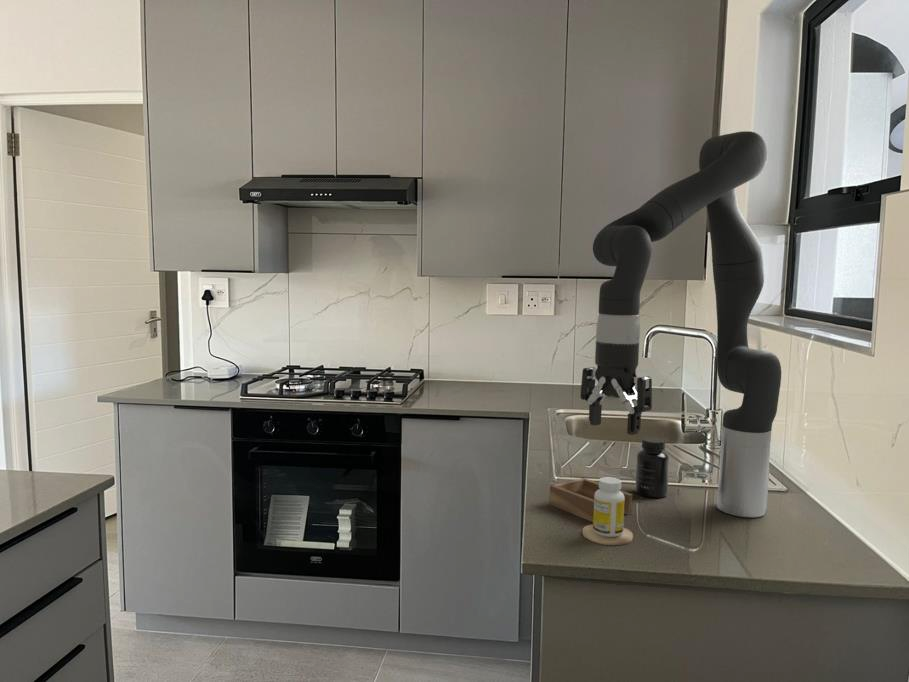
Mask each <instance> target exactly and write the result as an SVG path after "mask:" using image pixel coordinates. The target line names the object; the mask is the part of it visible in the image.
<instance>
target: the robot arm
mask: <svg viewBox="0 0 909 682" xmlns="http://www.w3.org/2000/svg"><path fill="white" fill-rule="evenodd" d="M768 149H769V148H768V145H767V143H766V141H765V139H764V138H763V136H762V135H760V134H759V133H757V132H755V131H749V130H748V131H745V130H744V131H737V132H731V133H728V134H727V133H726V134H723V135H717V136H713V137H710V138H708V139H707V140H706V141H704V142H703V144H702V146H701V149H700V151H699V156H698V157H699V158H698V169H699V171H697V172H695V173H693V174H691V175H689V176H687V177H685V178H683V179H681V180H678V181H676V182H674V183H672V184H670V185H668V186H667V187H665V188H663V189H662V190H661V191H659V192H658V193H656V194H655V195H653V196H652V197H651V198H650V199H648V200H647V201H646V202H645V203H643V204H642V205H640V207H639V208H637V209H635V210H634V211H631V212H629V213H627V214H625V215H622V216H621V217H619V218H617V219H615V220H613V221H612V222H610V223H608V224H607V225H605V226H603V228H601V230H599V232H598V233H597V234H596V236H595V238H594V240H593V242H592V254H593V256H594V258H595V259H596V260H597V262H599V263H600V264H601V265H604V266H608V267H615V271H614V273H613V276H612V278H611V279H609V280H606V281H603V282H602V283H601V285H600V287H599V292H598V293H599V294H598V296H599V297H598V316H597V322H596V331H595V332H596V333H595V335H596V336H595V353H594V354H595V355H594V363H595V365H596V366H597V368H596V367H595V366H594V367H592V366H591V367H590V366H589V367H584V368H583V369H582V376H581V384H580V385H581V386H580V387H581V388H580V397H579V398H580V399H581V400H582V401H586V402H587V403H588V405H589V409H588V420H589V424H590V425H591V426H593V427H594V426H599V425H601V423H602V408H603V407H602V404H601V402H603V400H604V399H605V397H610V396H609V395H612V396H614V397H613V398H617V399H618V398H619V399H620V401H621V403H623V404H624V405H625V407H626V409H627V410H628V413H627V427H626V428H627V429H626V430H627V431H626V433H627V435H630V436H634V435H638V433H639V432H640V431H641V423H642V422H641V421H642V414H643V413H644V412H650V411H652V409H653V408H652V407H653V406H652V405H653V402H652V401H653V400H652V399H653V397H652V395H653V389H652V388H653V385H652V384H653V383H652V382H653V381H652V377H651V376H649V375H648V376H638V375H637V371H636V370H637V368H638V367H639V353H640V337H641V336H640V334H641V325H640V305H641V304H640V303H641V300H640V299H641V291H642V287H643V285H644V282H645V278H646V275H647V273H648V272H647V271H648V268H649V265H650V262H651V257H652V251H653V249H652V243H654V242H658V241H661V240H663V239H665V237H667V236H669V235H670V234H671V233H673V232H674V231H675V230H676V229H678V227H680V226H681V225H682V224H683V223H684V222H686V221H687V220H689V219H690V218H691V217H692V216H694V215H695V214H697V213H698V212H699V211H701V210H702V209H704V208H706V214H707V219H708V228H709V236H710V237H709V238H710V246H711V261H712V262H711V264H712V275H713V276H712V277H713V284H714V293H715V303H716V304H715V305H716V306H715V307H716V325H717V329H716V331H717V332H716V333H717V335H716V337H717V339H716V340H717V341H716V371H717V376H718V380H719V383H720V384H721V386H722V387H723V388H724V389H726V390H728V391H731V392H734V393H739V394H743V396H742V402H741V405H740V406H739V407H737V408H733V409H729V410H726V411H724V412H723V416H722V424H721V425H722V426H721V427H722V428H721V443H720V457H719V468H718V469H719V472H718V483H717V484H718V486H717V498H716V508H717V509H718V510H720V511H721V512H723V513H725V514H728V515H732V516H736V517H742V518H760V517H763V516H765V514H766V511H767V507H768V494H769V484H770V483H769V482H770V481H769V480H770V468H771V467H770V457H771V455H770V454H771V443H772V430H773V423H774V420H775V417H776V416H777V413H778V412H777V411H778V407H779V400H780V399H779V397H780V391H781V384H782V383H781V381H782V365H781V362H780V361H781V360H780V359H779V357H778V356H777V355H776V354H775V353H773V352H771V351H768V350H763V349H762V350H761V349H755V348H750V347H749V342H748V341H749V340H748V324H749V323H748V322H749V319H750V315H751V313H752V312H753V309H754V306H755V305H756V303H757V301H758V300H759V297H760V295H761V293H762V290H763V287H764V283H765V273H764V272H765V270H764V258H763V257H764V256H763V250H762V246H761V244H760V242H759V240H758V238H757V236H756V235H755V233H754V231H753V230H752V228H751V227H750V225H749V224H748V222H747V221H746V219H745V218H744V217H743V215H742V213H741V211H740V208H739V204H738V199H737V195H736V194H737V193H736V189H737V187H740V186H742V185H744V184H746V183H747V182H750V181H752V180H754V179H755V178H756V177H758V176H759V175H760V174H761V173H762V172H763V171H764V169H765V167H766V165H767V162H768V156H769V151H768ZM596 381H597V384H596Z"/></svg>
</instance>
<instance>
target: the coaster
mask: <svg viewBox="0 0 909 682" xmlns="http://www.w3.org/2000/svg"><path fill="white" fill-rule="evenodd" d="M582 536H583V537H584V538H585V539H587V540H588V541H589V542H591V543H592V542H593V543H595V544H599V545H604V546H623V545H628V544H630V543H631V542H632V541H633V540H634V534H633V532H632V531H631V530H630V529H628V528H626V527H624V526H623V533H622V535H620V536H617V537H605V536H601V535H598V534H596V533H595V532H594V530H593V523H592V524H587V525H585V526H584V527H583V528H582Z"/></svg>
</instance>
